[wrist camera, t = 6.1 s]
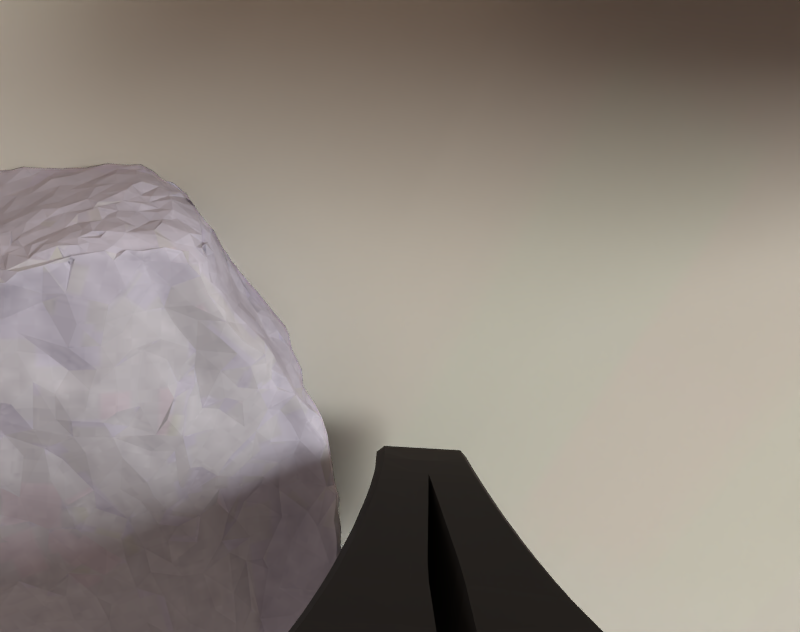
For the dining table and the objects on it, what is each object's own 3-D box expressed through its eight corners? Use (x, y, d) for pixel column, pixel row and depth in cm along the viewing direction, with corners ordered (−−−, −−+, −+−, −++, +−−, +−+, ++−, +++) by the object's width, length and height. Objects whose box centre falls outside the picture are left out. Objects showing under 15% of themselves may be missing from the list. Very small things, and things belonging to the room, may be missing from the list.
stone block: (215, 92, 12) (-402, 272, 11) (216, 139, 8) (-779, 437, 7) (386, 577, 18) (-23, 732, 16) (443, 762, 13) (-106, 988, 12)
